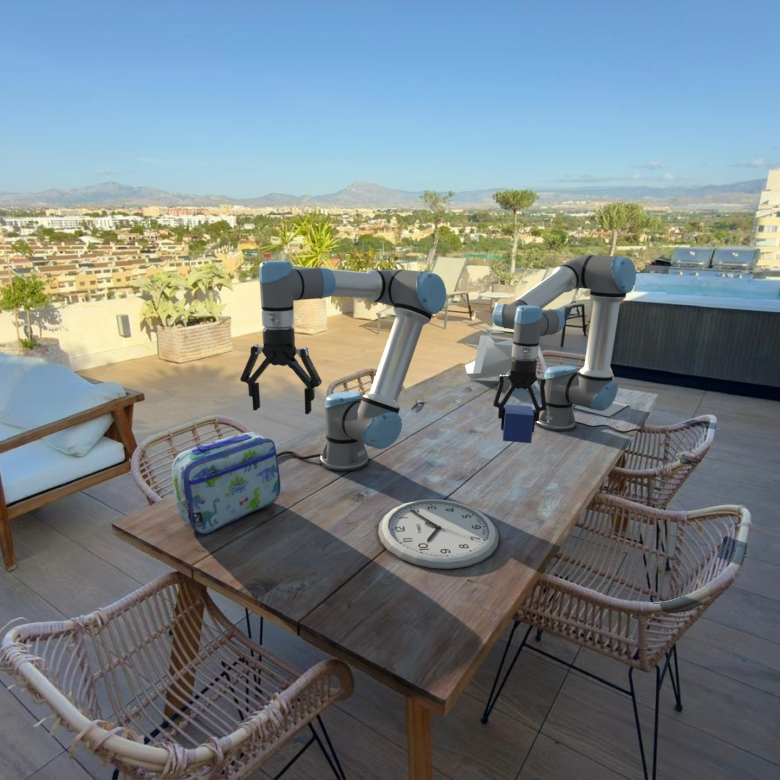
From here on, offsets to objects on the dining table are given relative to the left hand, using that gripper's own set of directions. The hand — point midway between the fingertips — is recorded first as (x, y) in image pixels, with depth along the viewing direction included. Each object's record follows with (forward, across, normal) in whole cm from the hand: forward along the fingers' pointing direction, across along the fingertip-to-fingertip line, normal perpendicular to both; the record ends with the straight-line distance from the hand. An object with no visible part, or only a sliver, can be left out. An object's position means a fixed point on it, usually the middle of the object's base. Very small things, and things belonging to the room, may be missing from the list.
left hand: (282, 410), depth 132 cm
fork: (+28, +24, +94) cm, 101 cm away
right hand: (+15, +62, +37) cm, 73 cm away
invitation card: (+28, +103, +108) cm, 152 cm away
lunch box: (+28, -13, -5) cm, 32 cm away
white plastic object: (+28, +63, +130) cm, 147 cm away
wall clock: (+28, +41, -3) cm, 50 cm away
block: (+17, +62, +37) cm, 74 cm away
